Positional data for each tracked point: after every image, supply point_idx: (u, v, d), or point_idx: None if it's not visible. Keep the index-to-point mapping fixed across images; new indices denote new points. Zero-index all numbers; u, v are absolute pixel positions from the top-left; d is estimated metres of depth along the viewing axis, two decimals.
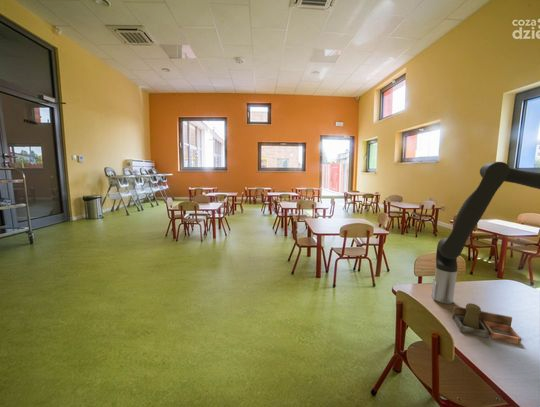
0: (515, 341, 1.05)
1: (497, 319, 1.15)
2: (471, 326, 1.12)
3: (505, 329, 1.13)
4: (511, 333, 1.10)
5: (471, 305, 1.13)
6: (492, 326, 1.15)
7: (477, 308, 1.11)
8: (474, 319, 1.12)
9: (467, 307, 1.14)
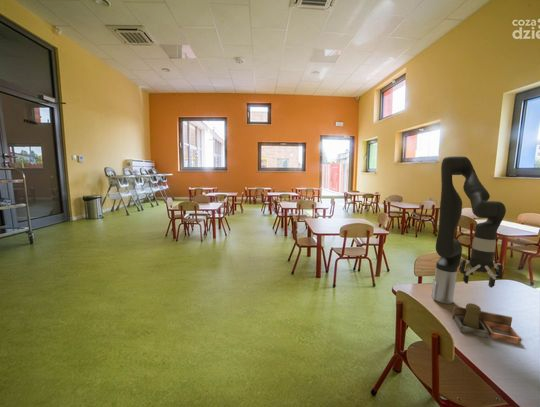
0: (515, 341, 1.05)
1: (497, 319, 1.15)
2: (471, 326, 1.12)
3: (505, 329, 1.13)
4: (511, 333, 1.10)
5: (471, 305, 1.13)
6: (492, 326, 1.15)
7: (477, 308, 1.11)
8: (474, 319, 1.12)
9: (467, 307, 1.14)
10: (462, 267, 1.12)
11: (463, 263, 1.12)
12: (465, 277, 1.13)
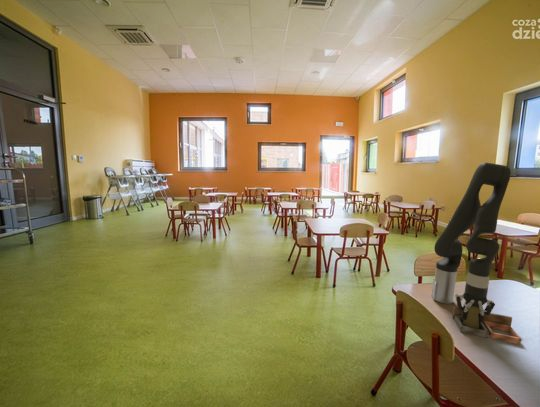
0: (515, 341, 1.05)
1: (497, 319, 1.15)
2: (471, 326, 1.12)
3: (505, 329, 1.13)
4: (511, 333, 1.10)
5: None
6: (492, 326, 1.15)
7: (477, 308, 1.11)
8: (474, 319, 1.12)
9: None
10: (459, 304, 1.14)
11: (458, 300, 1.14)
12: (463, 313, 1.14)
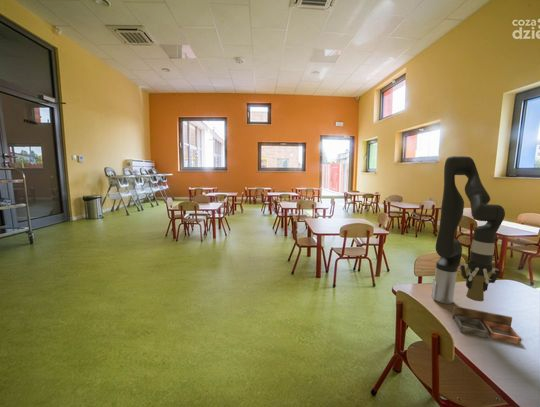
0: (515, 341, 1.05)
1: (497, 319, 1.15)
2: (475, 295, 1.10)
3: (505, 329, 1.13)
4: (511, 333, 1.10)
5: None
6: (492, 326, 1.15)
7: (482, 276, 1.09)
8: (478, 287, 1.10)
9: None
10: (463, 272, 1.12)
11: (462, 268, 1.12)
12: (468, 282, 1.12)
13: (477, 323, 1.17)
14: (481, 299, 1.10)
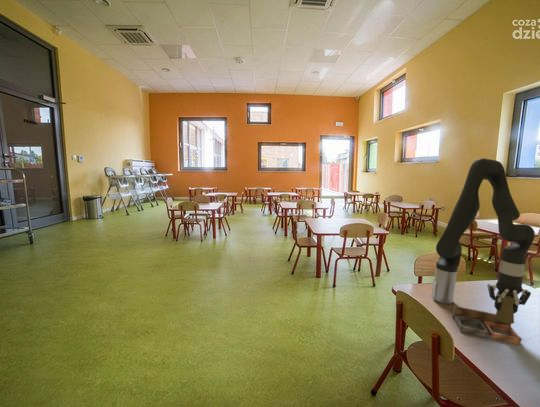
0: (515, 341, 1.05)
1: None
2: (506, 317, 1.07)
3: (505, 329, 1.13)
4: (511, 333, 1.10)
5: None
6: (492, 326, 1.15)
7: (512, 298, 1.06)
8: (509, 309, 1.07)
9: None
10: (492, 294, 1.09)
11: (491, 290, 1.09)
12: (497, 304, 1.09)
13: (477, 323, 1.17)
14: (512, 321, 1.07)
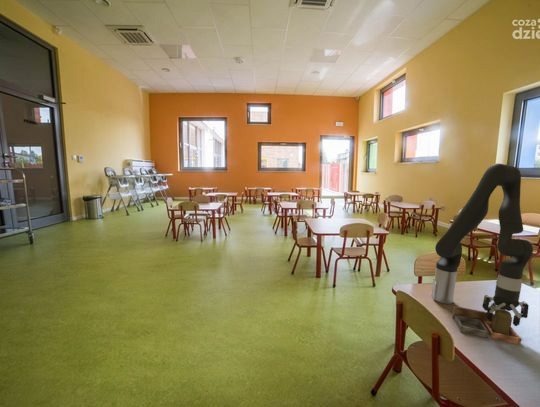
0: (515, 341, 1.05)
1: None
2: (501, 333, 1.09)
3: None
4: (511, 333, 1.10)
5: (501, 310, 1.09)
6: None
7: (507, 314, 1.08)
8: (504, 325, 1.08)
9: (497, 312, 1.10)
10: (486, 304, 1.10)
11: (487, 300, 1.10)
12: (489, 314, 1.11)
13: (477, 323, 1.17)
14: None
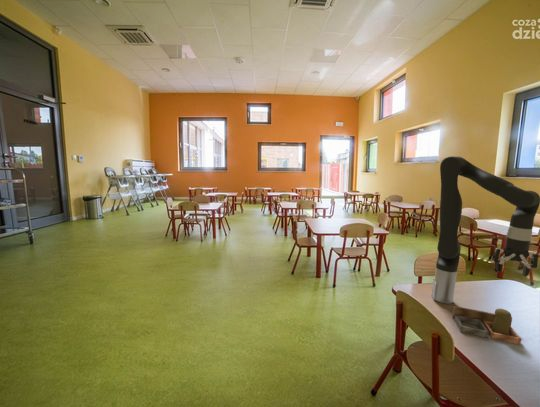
0: (515, 341, 1.05)
1: None
2: (501, 333, 1.09)
3: None
4: (511, 333, 1.10)
5: (501, 310, 1.09)
6: None
7: (507, 314, 1.08)
8: (504, 325, 1.08)
9: (497, 312, 1.10)
10: (496, 256, 1.14)
11: (497, 252, 1.13)
12: (499, 266, 1.14)
13: (477, 323, 1.17)
14: None
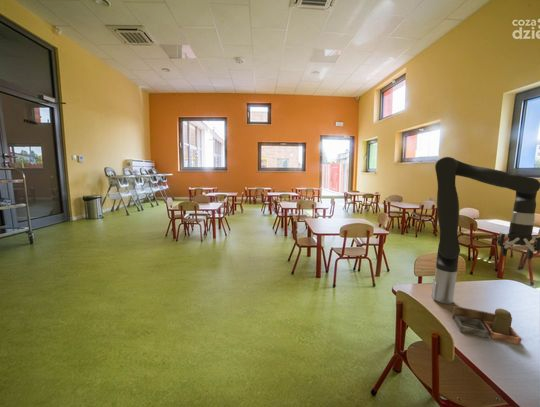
0: (515, 341, 1.05)
1: None
2: (501, 333, 1.09)
3: None
4: (511, 333, 1.10)
5: (501, 310, 1.09)
6: None
7: (507, 314, 1.08)
8: (504, 325, 1.08)
9: (497, 312, 1.10)
10: (501, 240, 1.19)
11: (502, 237, 1.19)
12: (503, 250, 1.20)
13: (477, 323, 1.17)
14: None
